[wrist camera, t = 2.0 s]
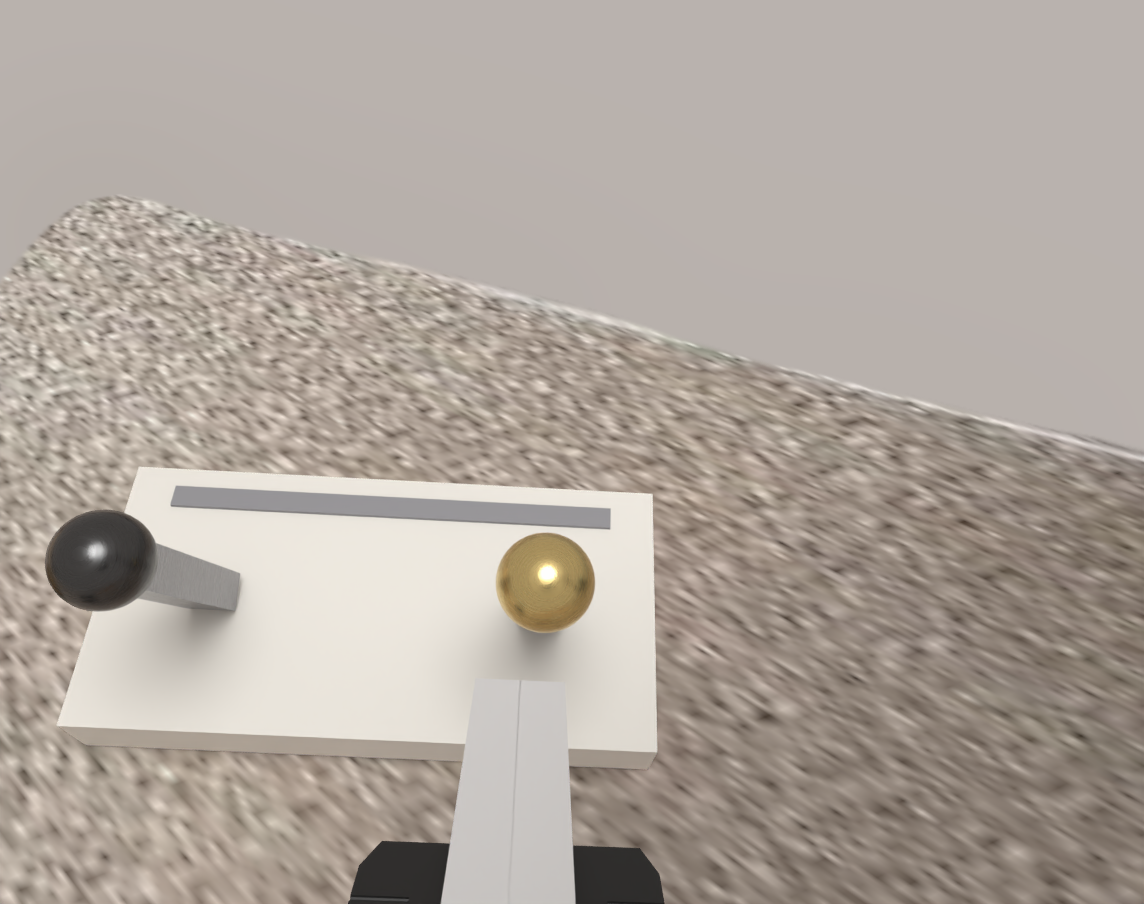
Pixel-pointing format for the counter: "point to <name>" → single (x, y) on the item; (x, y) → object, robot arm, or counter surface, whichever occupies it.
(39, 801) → the counter surface
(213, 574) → the black lever
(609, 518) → the control panel
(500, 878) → the robot arm
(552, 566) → the brass lever
